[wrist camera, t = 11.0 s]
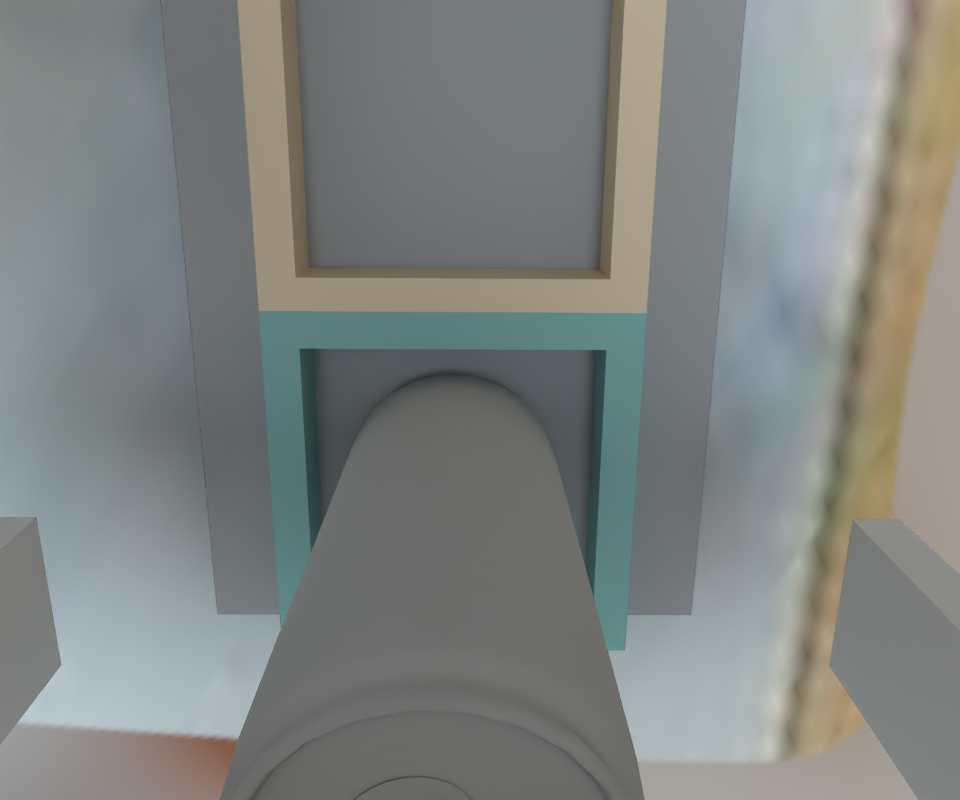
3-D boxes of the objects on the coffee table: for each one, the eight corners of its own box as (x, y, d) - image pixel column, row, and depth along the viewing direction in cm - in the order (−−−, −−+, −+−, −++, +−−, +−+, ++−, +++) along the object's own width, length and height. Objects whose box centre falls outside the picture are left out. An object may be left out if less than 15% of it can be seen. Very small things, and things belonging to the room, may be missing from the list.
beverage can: (516, 339, 19) (582, 626, 8) (580, 520, 21) (714, 991, 9) (321, 406, 20) (115, 771, 8) (395, 580, 21) (306, 1100, 10)
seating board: (168, -90, 18) (120, -128, 15) (740, -84, 18) (781, -120, 15) (228, 595, 22) (199, 649, 20) (681, 596, 22) (706, 650, 20)
